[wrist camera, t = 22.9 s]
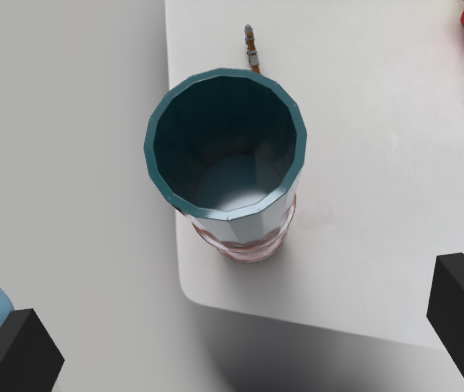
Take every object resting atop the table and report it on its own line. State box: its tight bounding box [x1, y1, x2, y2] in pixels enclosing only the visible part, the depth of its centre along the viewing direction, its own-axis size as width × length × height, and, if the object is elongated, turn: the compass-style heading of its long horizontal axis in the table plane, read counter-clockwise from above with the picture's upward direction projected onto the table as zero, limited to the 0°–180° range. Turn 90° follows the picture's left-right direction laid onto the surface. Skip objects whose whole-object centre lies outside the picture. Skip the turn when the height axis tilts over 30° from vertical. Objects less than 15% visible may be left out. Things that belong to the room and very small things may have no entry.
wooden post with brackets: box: [245, 24, 261, 75], centre depth 46 cm, size 2×8×4 cm, turn 11°
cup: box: [144, 68, 307, 247], centre depth 22 cm, size 7×7×11 cm
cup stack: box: [192, 192, 296, 263], centre depth 35 cm, size 8×8×16 cm
